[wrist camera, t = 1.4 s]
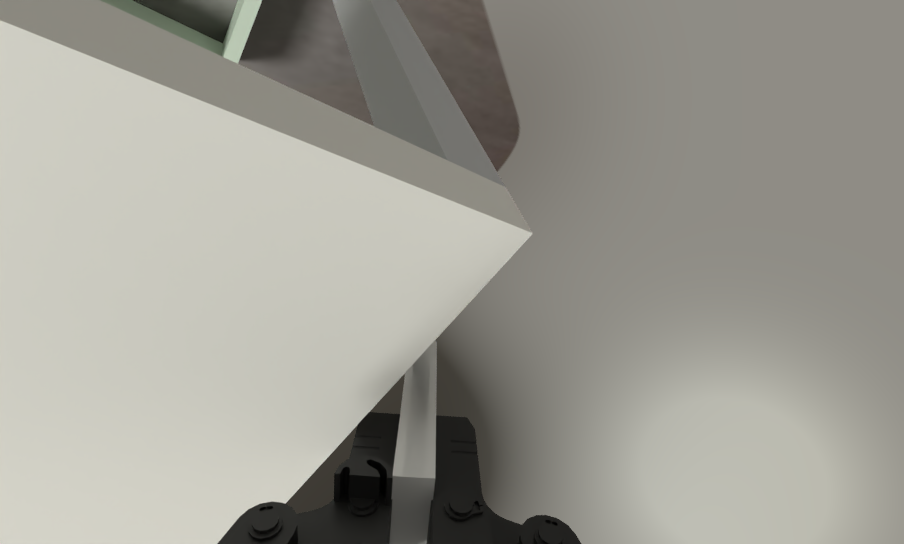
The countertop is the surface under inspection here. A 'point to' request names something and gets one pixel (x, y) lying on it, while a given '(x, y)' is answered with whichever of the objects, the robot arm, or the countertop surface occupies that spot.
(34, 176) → the c-shaped side table
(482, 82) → the countertop surface
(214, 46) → the frame
